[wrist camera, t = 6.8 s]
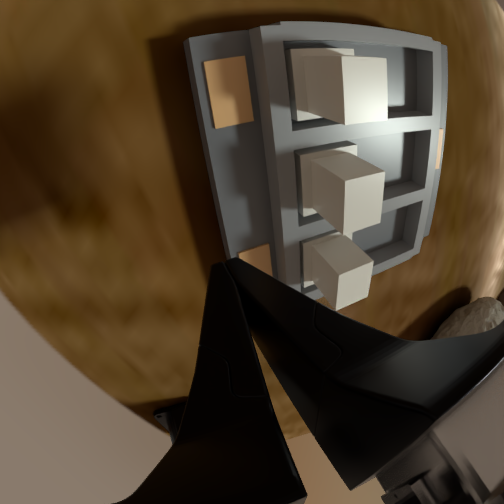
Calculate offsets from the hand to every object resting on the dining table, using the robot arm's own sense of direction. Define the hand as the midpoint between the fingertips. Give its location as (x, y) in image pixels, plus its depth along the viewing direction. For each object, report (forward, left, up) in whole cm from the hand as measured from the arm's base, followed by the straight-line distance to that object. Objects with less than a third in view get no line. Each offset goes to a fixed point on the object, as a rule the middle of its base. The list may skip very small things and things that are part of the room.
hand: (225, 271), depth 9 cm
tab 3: (-4, -6, -5) cm, 9 cm away
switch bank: (0, -9, -6) cm, 11 cm away
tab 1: (+5, -6, -5) cm, 9 cm away
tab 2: (0, -6, -5) cm, 8 cm away
